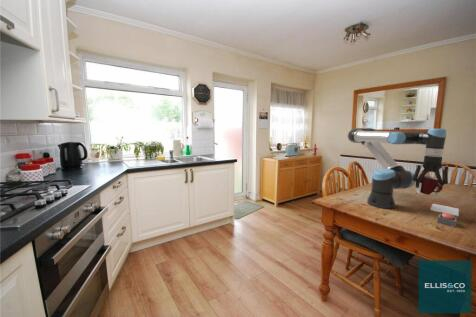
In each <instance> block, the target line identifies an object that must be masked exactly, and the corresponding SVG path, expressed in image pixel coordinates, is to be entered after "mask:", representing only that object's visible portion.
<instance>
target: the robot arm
mask: <svg viewBox="0 0 476 317" xmlns="http://www.w3.org/2000/svg"><path fill="white" fill-rule="evenodd" d="M446 138H447V129H445V128H429V129H428V130H427V131H387V130H385V131H381V130H377V129H375V128H372V127H367V128H366V127H362V128H361V127H358V128H357V127H355V128H353V129H350V130H349V131H348V134H347V139H348V140H349V141H350V142H351V143H354V144H362V146H363V147H364V148H365V149H366V148H367V149H368V151H369V152H370V153H371V154H372V156H373V157H374V158H375V160H376V161H377V162H378V164H379V165H380V167H381V168H379V169H375V170H374V171H373V173H372V179H371V180H372V181H371V188H370V189H371V191H370V193H369V195H368V198H367V201H366V203H367V204H368V205H370V206H373V207H376V208H379V209H387V210H388V209H389V210H390V209H395V207H396V203H395V199H394V190H399V189H405V190H406V189H410V188H411V187H413V186H414V184H415V188H416V193H417V194H418V195H420V194H421V192H420V191H421V184H422V183H420V182H421V180H422V179H423V178H424V176H427V174H428V173H434V174H435V178H437V180H439V183H438V184H439V185H440V186H441V191H443V186H444V185H448V184H449V178H448V177H449V176H448V170H449V166H445V165H443V157H442V156H443V155H444V152H445V144H446V143H445V142H446ZM382 144H391V145H425V149H424V156H423V162H422V164H416V165H415V171H414V173H413V172H412V171H410V170H406V169H405V168H404V167H403V165H399V164H398V163H397V162H396V160H395V159H394V158H393V157H392V155H391V154H390V153H389V152H388V151H387V149H385V147H384V146H383V145H382ZM422 168H423V170H422V171H421V169H422ZM440 169H441V172H442V173H441V174H442V176H441V174H440ZM420 172H421V173H420ZM435 191H438V186H437V187H436V188H435ZM441 191H440V192H441ZM440 192H434V193H435V195H436V197H437V196H439V197H440Z"/></svg>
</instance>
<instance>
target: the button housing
mask: <svg viewBox="0 0 476 317" xmlns="http://www.w3.org/2000/svg"><path fill="white" fill-rule="evenodd" d="M441 217H442V213H439V214H438V216H437V221H436V222H437V223H438V224H442V225H445V226H450V227H453V228H456V227H457V220H458V217H455V216H454V218H453V220H449V219H445V218H441Z"/></svg>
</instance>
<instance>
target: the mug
mask: <svg viewBox="0 0 476 317" xmlns="http://www.w3.org/2000/svg"><path fill="white" fill-rule="evenodd" d="M420 183H422V184H421V191H420V194H424V195H427V196H428V195H431V194H432V193H435V192H441V191H442V190H441V186H440V185H439V180H437V177H434V176H429V175H425V176H424V178H423V179H422V180H421V182H420ZM437 186H438V191H436V187H437Z"/></svg>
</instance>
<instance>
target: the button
mask: <svg viewBox="0 0 476 317" xmlns="http://www.w3.org/2000/svg"><path fill="white" fill-rule="evenodd" d="M441 214H442V217H441V218H445V219H449V220H453V218H454V217H455V215H452V214H449V213H441Z"/></svg>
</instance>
